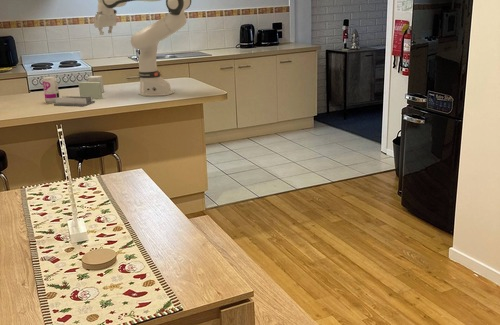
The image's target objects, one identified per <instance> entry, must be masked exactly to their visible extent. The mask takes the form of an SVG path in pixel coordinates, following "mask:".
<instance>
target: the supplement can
mask: <svg viewBox="0 0 500 325" xmlns="http://www.w3.org/2000/svg"><path fill="white" fill-rule="evenodd" d="M42 85H43V86H42V87H43V88H42V89H43V92H44V93H43V95H44V100H45V102H46V103H47V104H55V103H56V99H55V98H60V93H59V85H58V79H57V78H56V76H44V77H42Z"/></svg>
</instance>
